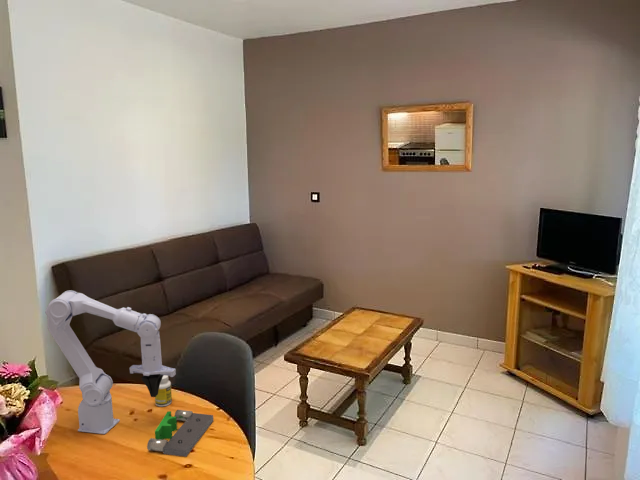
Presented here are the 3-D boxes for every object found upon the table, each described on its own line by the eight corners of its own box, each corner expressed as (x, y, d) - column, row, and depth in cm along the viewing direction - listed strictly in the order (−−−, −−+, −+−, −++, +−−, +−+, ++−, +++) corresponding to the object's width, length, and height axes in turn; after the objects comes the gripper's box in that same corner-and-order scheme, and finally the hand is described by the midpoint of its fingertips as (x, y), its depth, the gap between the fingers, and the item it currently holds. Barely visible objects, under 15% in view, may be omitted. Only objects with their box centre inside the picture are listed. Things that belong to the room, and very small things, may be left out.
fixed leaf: (147, 452, 141) (146, 442, 140) (179, 416, 160) (178, 407, 159) (185, 457, 139) (185, 446, 138) (213, 420, 157) (213, 411, 157)
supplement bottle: (169, 407, 166) (167, 380, 164) (153, 407, 166) (151, 380, 164) (174, 399, 171) (172, 372, 169) (158, 399, 171) (156, 372, 169)
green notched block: (168, 445, 145) (167, 431, 144) (155, 445, 145) (154, 431, 144) (180, 424, 156) (179, 411, 155) (168, 424, 156) (167, 410, 155)
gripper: (122, 358, 150) (126, 399, 152) (166, 361, 147) (169, 404, 149) (135, 349, 156) (138, 388, 159) (177, 352, 154) (180, 392, 156)
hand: (154, 395), depth 154 cm, fingers closed
